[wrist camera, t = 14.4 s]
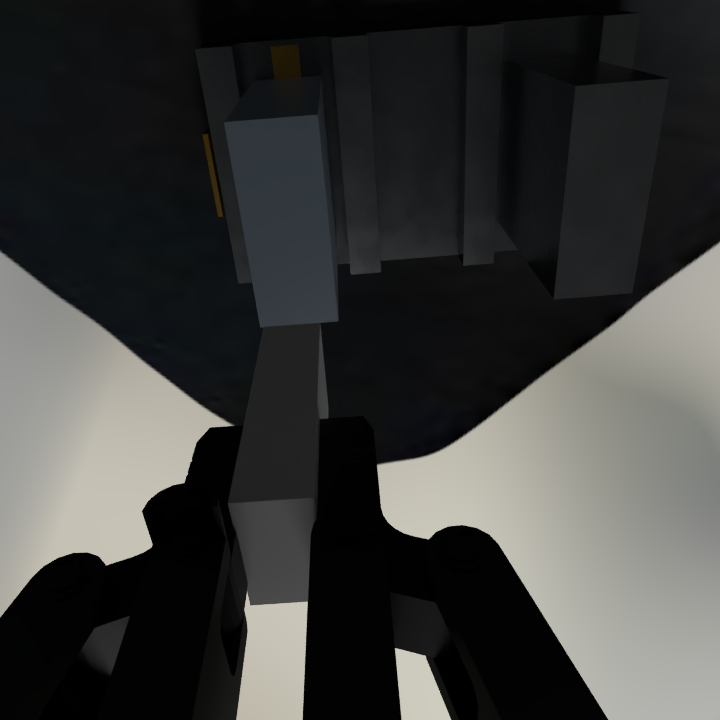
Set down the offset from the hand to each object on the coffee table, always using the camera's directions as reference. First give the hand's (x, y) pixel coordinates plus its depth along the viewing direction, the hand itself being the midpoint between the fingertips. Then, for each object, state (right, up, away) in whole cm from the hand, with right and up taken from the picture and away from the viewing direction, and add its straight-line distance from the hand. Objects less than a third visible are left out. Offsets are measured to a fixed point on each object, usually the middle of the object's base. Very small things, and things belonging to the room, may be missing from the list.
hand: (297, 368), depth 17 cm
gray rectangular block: (-2, +13, +22) cm, 26 cm away
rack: (+5, +14, +24) cm, 28 cm away
